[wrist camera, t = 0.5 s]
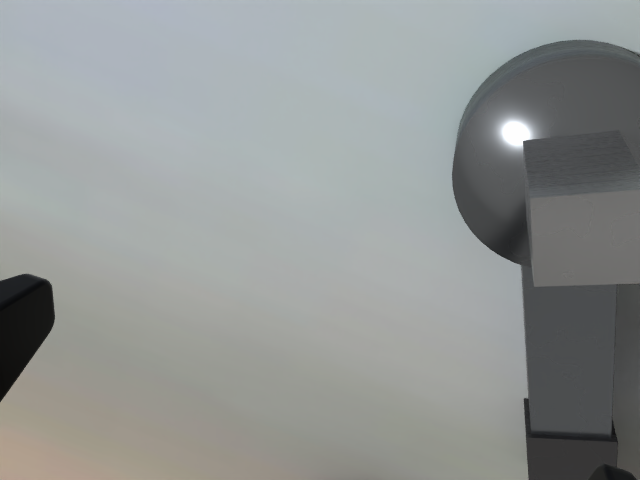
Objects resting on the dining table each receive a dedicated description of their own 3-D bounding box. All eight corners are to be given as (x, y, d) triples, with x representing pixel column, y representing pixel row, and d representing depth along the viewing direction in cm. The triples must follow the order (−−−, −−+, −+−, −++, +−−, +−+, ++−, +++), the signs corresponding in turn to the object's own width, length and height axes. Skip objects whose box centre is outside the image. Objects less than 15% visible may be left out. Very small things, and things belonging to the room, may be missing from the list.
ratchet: (446, 59, 19) (428, 122, 13) (688, 20, 17) (784, 78, 11) (489, 463, 28) (488, 598, 22) (649, 474, 26) (692, 627, 20)
